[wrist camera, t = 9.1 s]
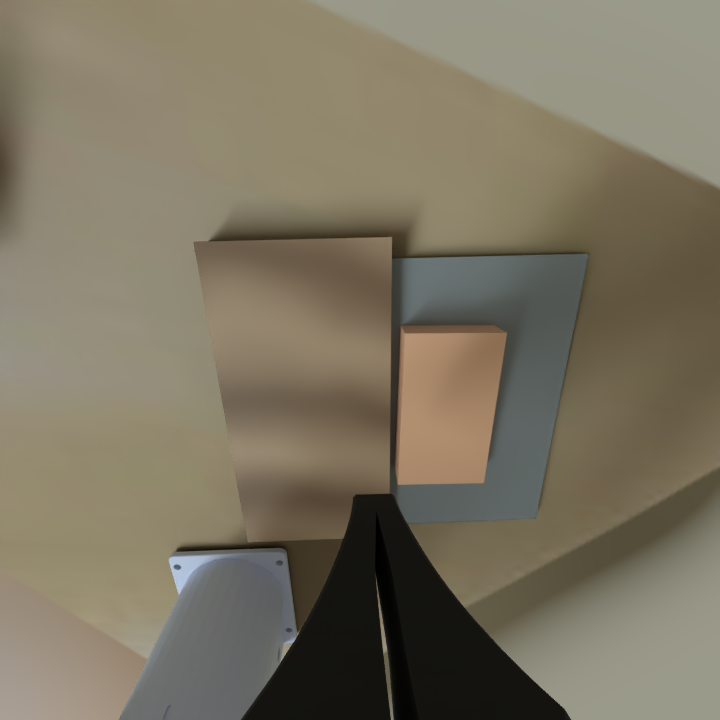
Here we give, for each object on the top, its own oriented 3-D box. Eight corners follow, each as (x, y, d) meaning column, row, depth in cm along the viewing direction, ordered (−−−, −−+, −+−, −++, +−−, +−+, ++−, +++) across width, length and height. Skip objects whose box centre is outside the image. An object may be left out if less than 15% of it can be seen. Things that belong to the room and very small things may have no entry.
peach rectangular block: (474, 465, 21) (483, 483, 19) (394, 467, 21) (397, 484, 19) (493, 324, 18) (507, 332, 16) (400, 325, 18) (405, 333, 16)
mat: (532, 512, 23) (535, 518, 22) (386, 518, 23) (387, 524, 22) (582, 253, 17) (588, 253, 17) (388, 258, 17) (389, 258, 16)
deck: (386, 518, 23) (389, 537, 21) (254, 523, 22) (247, 542, 21) (388, 237, 17) (391, 236, 15) (207, 241, 16) (193, 241, 15)
